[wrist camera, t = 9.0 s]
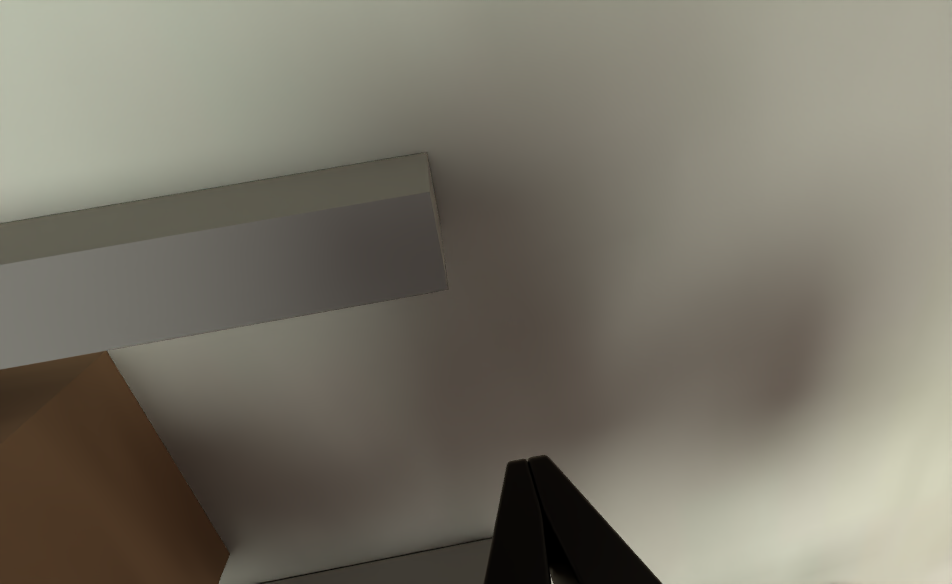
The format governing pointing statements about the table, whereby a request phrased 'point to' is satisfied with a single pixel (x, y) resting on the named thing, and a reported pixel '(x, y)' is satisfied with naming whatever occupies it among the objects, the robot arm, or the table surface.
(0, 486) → the block
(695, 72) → the table surface
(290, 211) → the grey bars
